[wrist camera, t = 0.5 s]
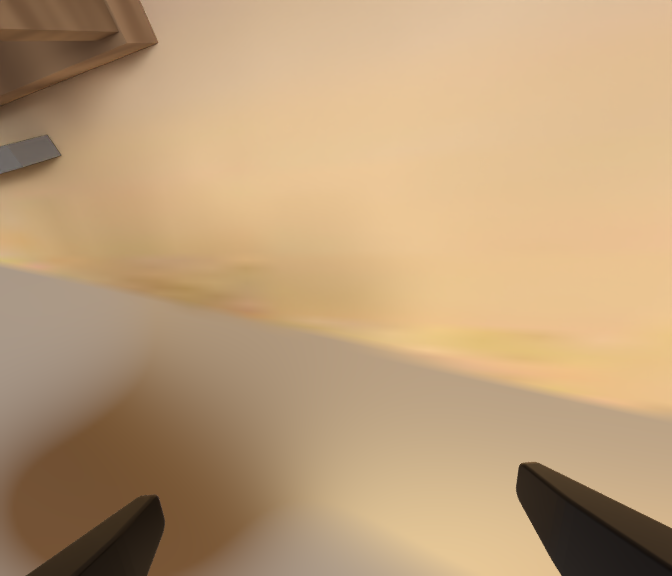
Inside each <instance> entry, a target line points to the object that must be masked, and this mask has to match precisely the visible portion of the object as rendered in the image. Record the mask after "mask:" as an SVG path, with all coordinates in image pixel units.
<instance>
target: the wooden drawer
mask: <svg viewBox="0 0 672 576" xmlns="http://www.w3.org/2000/svg"><path fill="white" fill-rule="evenodd" d="M156 43H158V41H157V38H156V36H155V34H154V32H153V29H152V27H151V25H150V23H149V20H148V18H147V16H146V14H145V11H144V9H143V7H142V5H141V2H140V0H0V106H1V105H4V104H6V103H9V102H11V101H14V100H16V99H19V98H21V97H24V96H26V95H29V94H31V93H34V92H36V91H39V90H41V89H44V88H46V87H49V86H51V85H54V84H56V83H59V82H61V81H64V80H66V79H69V78H71V77H74V76H76V75H79V74H81V73H84V72H86V71H89V70H91V69H94V68H96V67H99V66H101V65H104V64H106V63H109V62H111V61H114V60H116V59H119V58H121V57H124V56H126V55H129V54H131V53H134V52H136V51H139V50H141V49H144V48H146V47H149V46H151V45H154V44H156Z"/></svg>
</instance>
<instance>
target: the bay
mask: <svg viewBox="0 0 672 576" xmlns="http://www.w3.org/2000/svg"><path fill="white" fill-rule="evenodd" d="M58 156H61V154H60V153H59V151H58V150H57V149H56V147H55V146H54V144H53V143H52V141H51V140H50V138H49V137H48V135H44V136H40V137H36V138H32V139H28V140H24V141H20V142H16V143H12V144H8V145H4V146H1V147H0V174H1V173H4V172H8V171H11V170H15V169H18V168H22V167H25V166H29V165H32V164H35V163H38V162H41V161H45V160H48V159H51V158H54V157H58Z"/></svg>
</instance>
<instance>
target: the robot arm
mask: <svg viewBox="0 0 672 576" xmlns="http://www.w3.org/2000/svg"><path fill="white" fill-rule="evenodd" d="M516 492H517V496H518V498H519V501H520V503H521V505H522V507H523V508H524V510H525V512H526V514H527V516H528V518H529V519H530V521H531V523H532V525H533V527H534V529H535V530H536V532H537V534H538V536H539V538H540V540H541V541H542V543H543V545H544V546H545V549H546V550H547V552H548V554H549V556H550V557H551V559H552V561H553V563H554V564H555V566H556V567H557V569H558V570H559V572H560V574H561V575H562V576H672V528H670V527H668V526H666V525H664V524H662V523H660V522H658V521H656V520H654V519H652V518H650V517H648V516H646V515H644V514H641V513H639V512H637V511H635V510H633V509H631V508H629V507H627V506H625V505H623V504H621V503H619V502H617V501H615V500H613V499H611V498H609V497H607V496H605V495H603V494H601V493H599V492H597V491H595V490H593V489H591V488H589V487H587V486H585V485H583V484H581V483H579V482H576V481H574V480H572V479H570V478H568V477H566V476H564V475H562V474H560V473H558V472H556V471H554V470H552V469H550V468H548V467H546V466H544V465H542V464H540V463H537V462H526V463H521V464H520V465H519V470H518V477H517V484H516ZM164 526H165V519H164V515H163V511H162V508H161V504H160V500H159V497H158V496H157V495H145V496H140V497H138V498H136V499H135V500H133V501H132V502H131V503H129V504H128V505H126V506H125V507H123V508H122V509H120V510H119V511H118V512H116V513H115V514H113V515H112V516H110V517H109V518H108V519H106V520H105V521H104V522H102V523H100V524H99V525H98V526H96V527H95V528H93V529H92V530H90V531H89V532H88V533H86V534H85V535H83V536H82V537H80V538H79V539H78V540H77V541H75V542H73V543H72V544H70V545H69V546H68V547H66V548H65V549H63V550H62V551H60V552H59V553H58V554H56V555H55V556H53V557H52V558H51V559H49V560H48V561H46V562H45V563H44V564H42V565H41V566H39V567H38V568H36V569H35V570H33V571H32V572H30V573H29V574H28V575H26V576H147V574H148V571H149V569H150V566H151V564H152V561H153V558H154V556H155V553H156V550H157V548H158V545H159V542H160V540H161V537H162V534H163V531H164Z"/></svg>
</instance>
